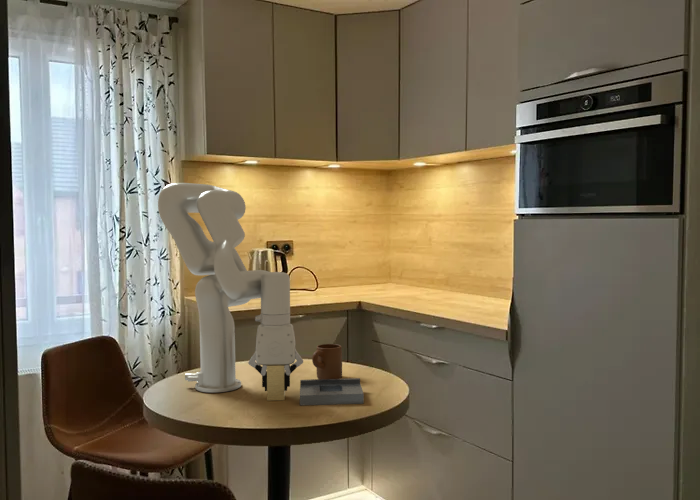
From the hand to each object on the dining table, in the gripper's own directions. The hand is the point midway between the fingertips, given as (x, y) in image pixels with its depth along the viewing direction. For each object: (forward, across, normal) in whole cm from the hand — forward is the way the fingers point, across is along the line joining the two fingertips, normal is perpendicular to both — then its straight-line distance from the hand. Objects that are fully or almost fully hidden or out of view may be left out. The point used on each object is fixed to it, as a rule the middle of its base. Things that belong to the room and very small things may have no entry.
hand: (276, 388), depth 163 cm
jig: (+2, +14, -1) cm, 14 cm away
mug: (+3, +13, +19) cm, 23 cm away
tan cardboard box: (+2, 0, 0) cm, 2 cm away
